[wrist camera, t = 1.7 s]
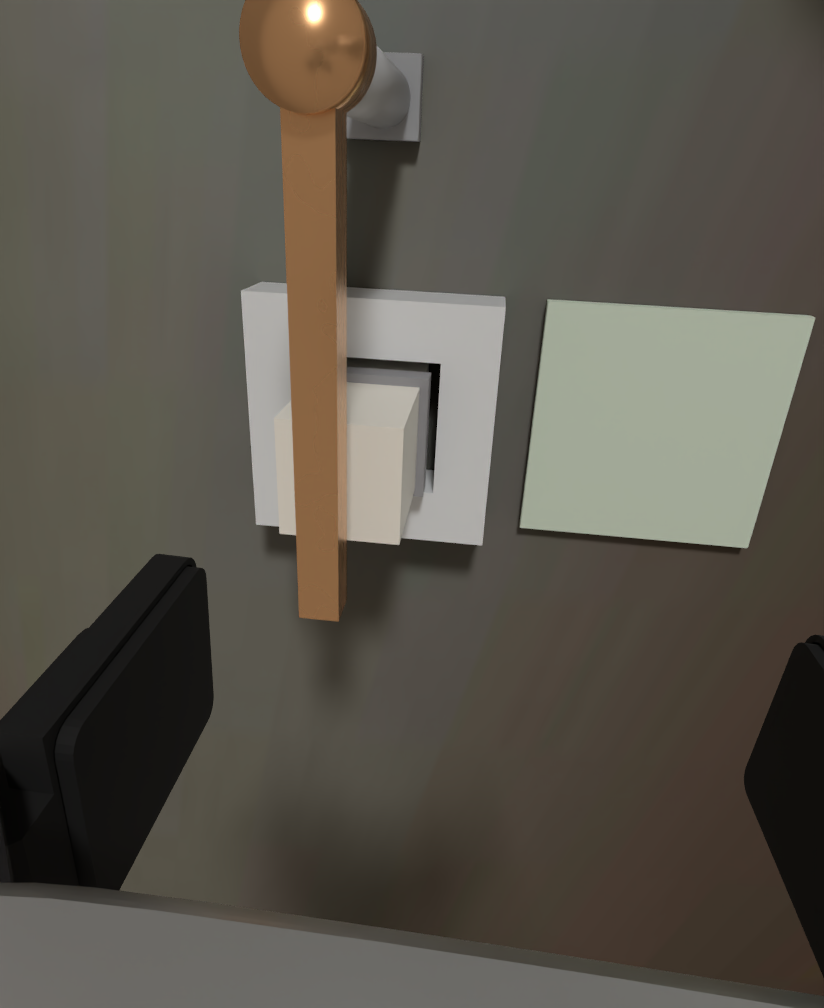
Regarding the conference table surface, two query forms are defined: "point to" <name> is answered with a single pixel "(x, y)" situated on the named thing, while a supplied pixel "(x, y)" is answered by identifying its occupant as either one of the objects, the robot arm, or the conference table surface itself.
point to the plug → (371, 449)
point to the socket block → (393, 348)
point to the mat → (658, 419)
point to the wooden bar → (315, 256)
